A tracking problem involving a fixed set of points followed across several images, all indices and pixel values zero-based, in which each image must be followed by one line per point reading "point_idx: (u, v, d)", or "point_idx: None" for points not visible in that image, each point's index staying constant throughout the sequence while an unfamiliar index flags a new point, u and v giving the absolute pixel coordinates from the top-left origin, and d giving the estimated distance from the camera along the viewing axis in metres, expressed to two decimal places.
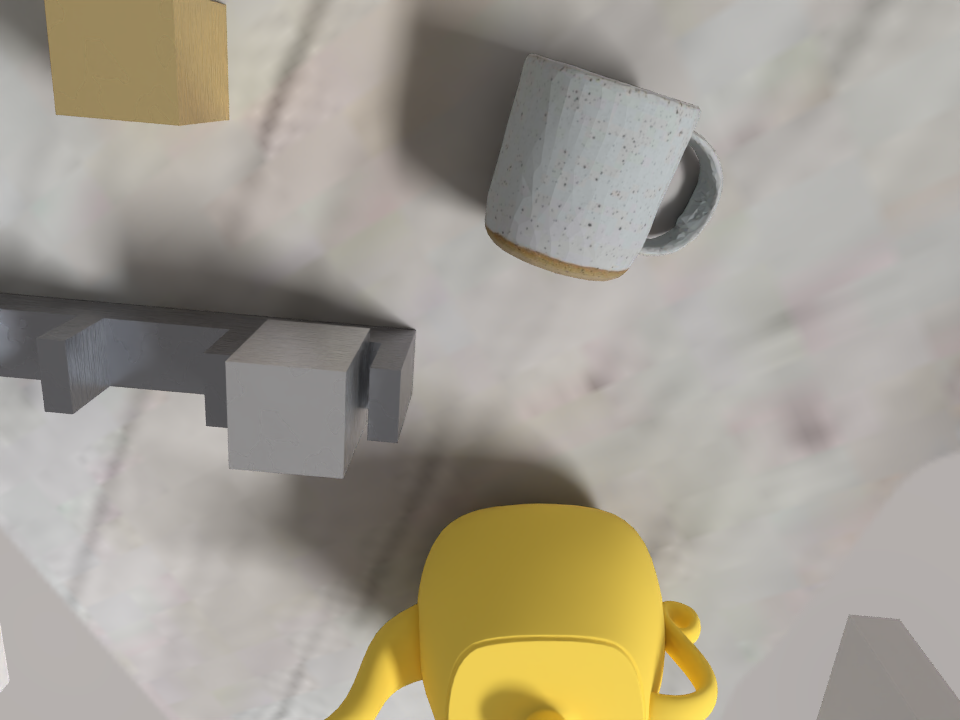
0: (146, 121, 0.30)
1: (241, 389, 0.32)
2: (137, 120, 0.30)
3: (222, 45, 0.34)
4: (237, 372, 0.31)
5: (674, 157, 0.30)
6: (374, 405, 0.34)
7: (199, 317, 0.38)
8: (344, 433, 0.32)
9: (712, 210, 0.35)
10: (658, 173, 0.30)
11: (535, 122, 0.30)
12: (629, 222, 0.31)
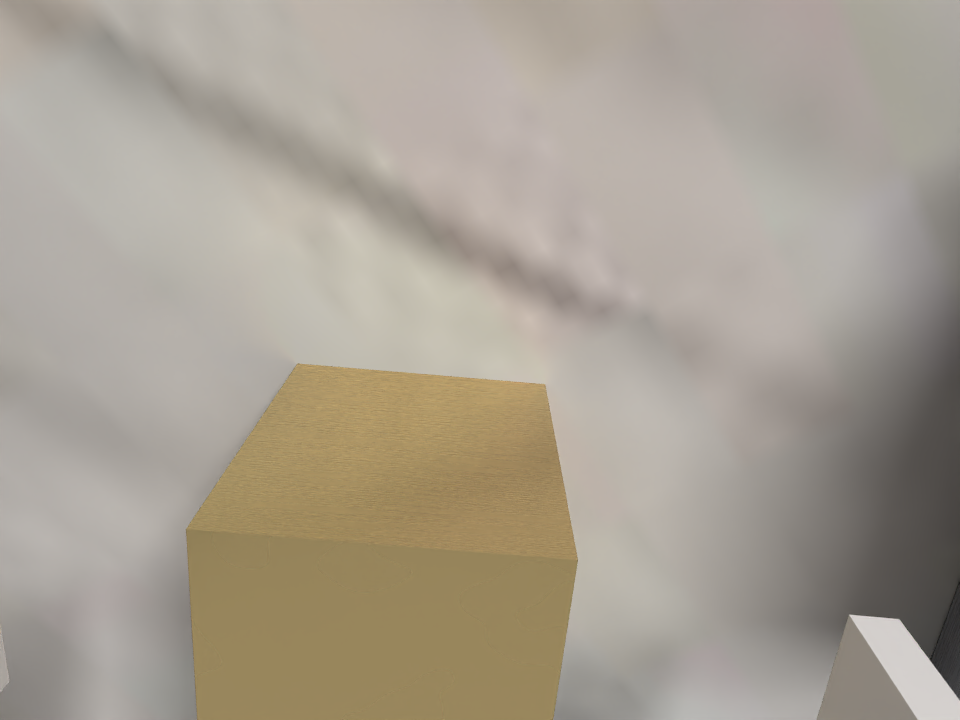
0: (561, 642, 0.10)
1: None
2: (557, 663, 0.10)
3: (379, 382, 0.15)
4: None
5: None
6: None
7: None
8: None
9: None
10: None
11: None
12: None
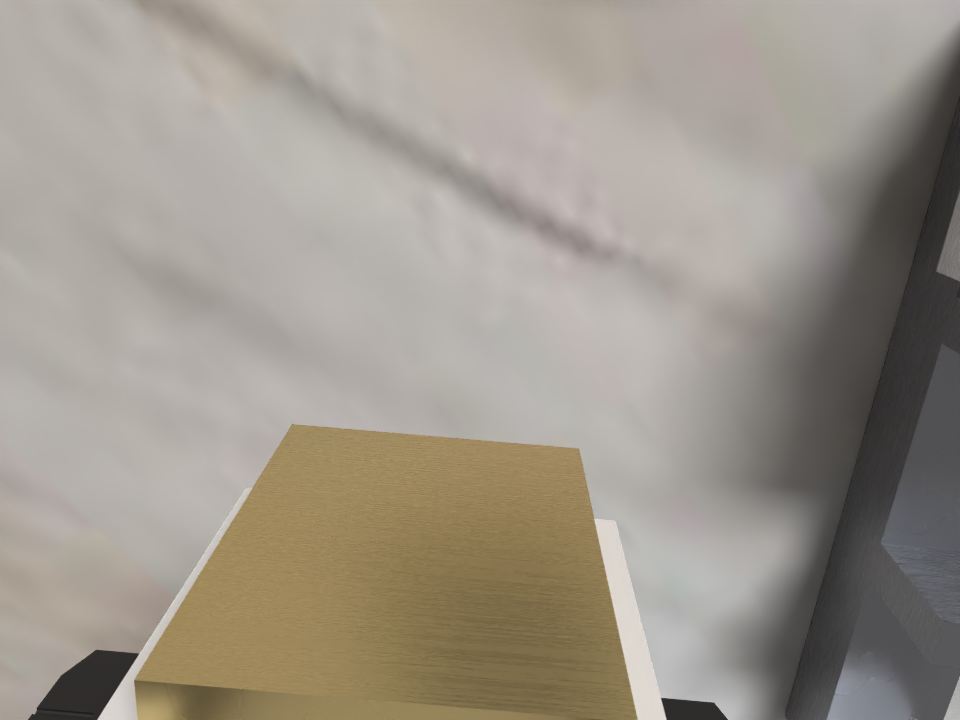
0: None
1: None
2: None
3: (386, 450, 0.12)
4: None
5: None
6: None
7: (896, 394, 0.22)
8: None
9: None
10: None
11: None
12: None
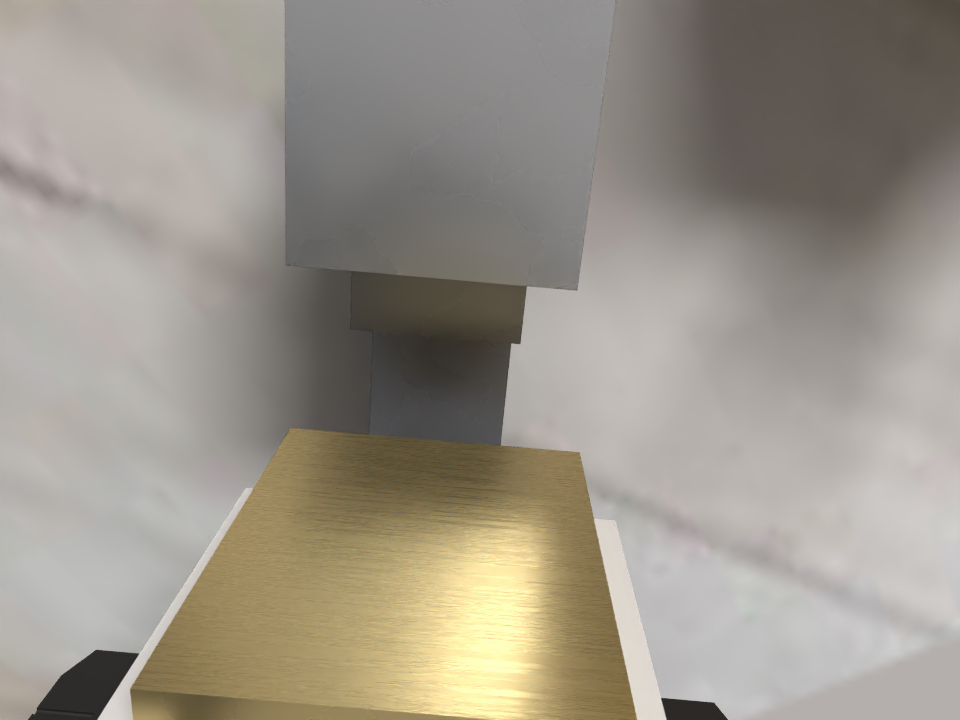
0: None
1: (356, 233, 0.13)
2: None
3: (385, 454, 0.12)
4: (312, 238, 0.13)
5: None
6: None
7: None
8: None
9: None
10: None
11: None
12: None
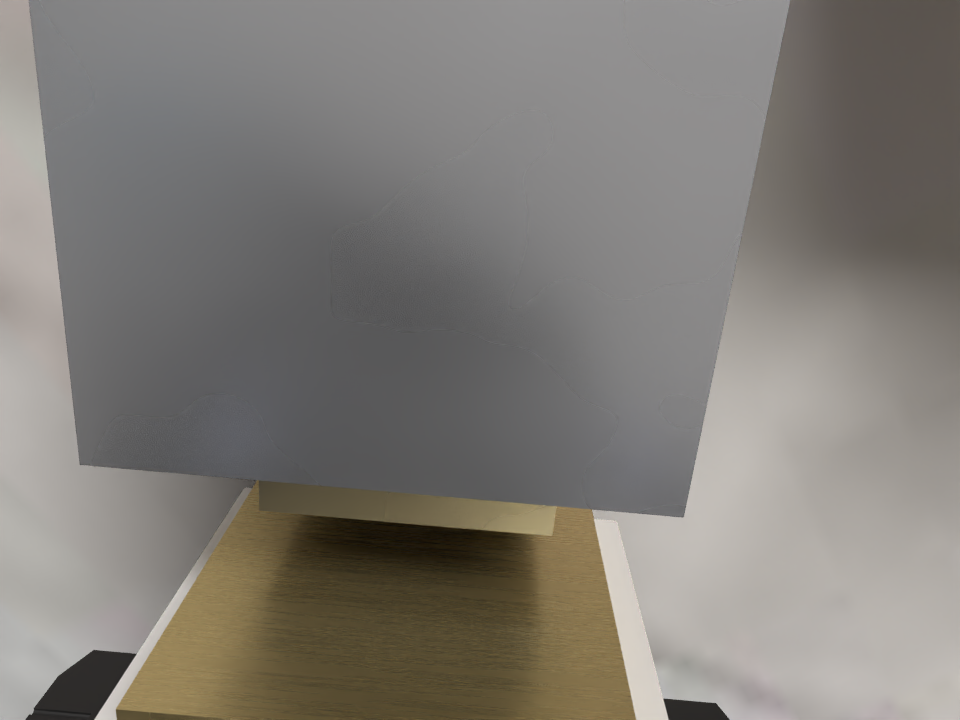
0: None
1: (221, 405, 0.06)
2: None
3: None
4: (128, 413, 0.06)
5: None
6: None
7: None
8: None
9: None
10: None
11: None
12: None
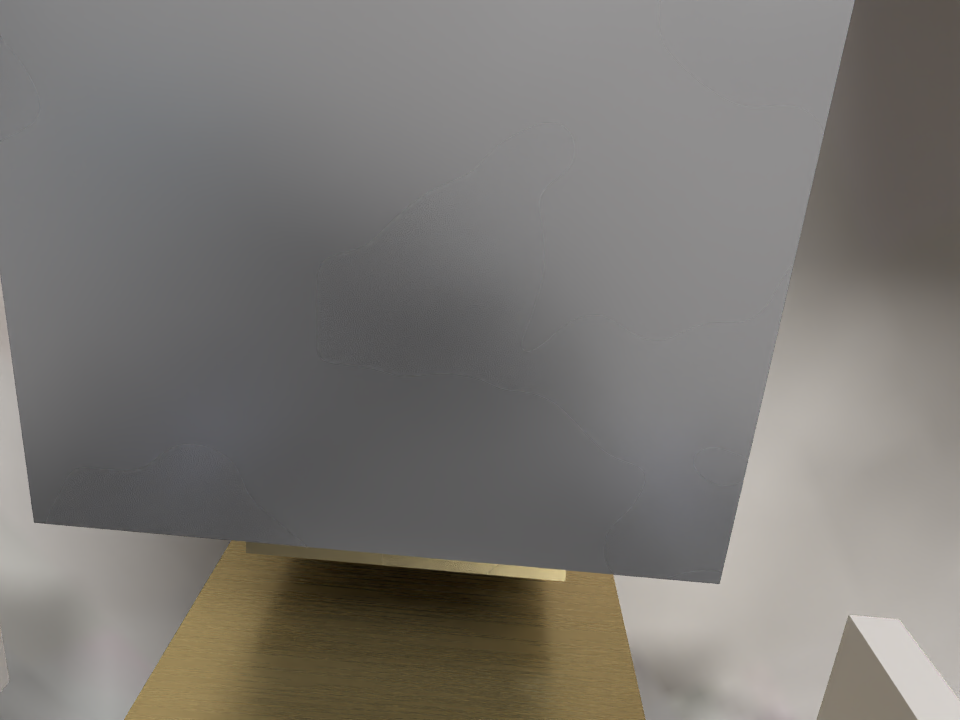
0: None
1: (194, 457, 0.05)
2: None
3: None
4: (89, 466, 0.05)
5: None
6: None
7: None
8: None
9: None
10: None
11: None
12: None
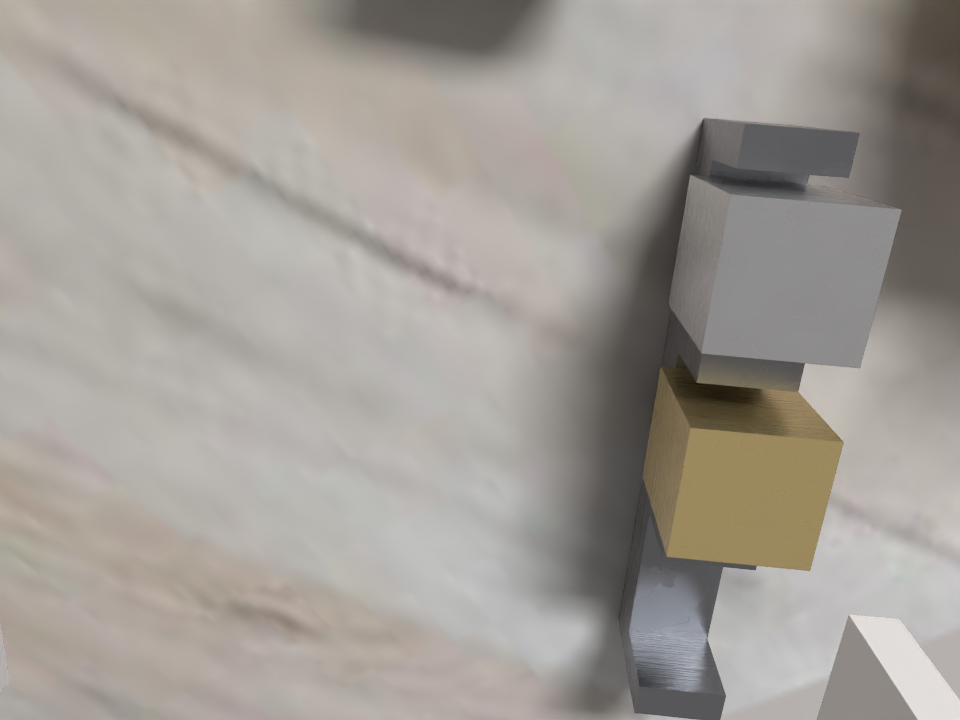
0: (832, 477, 0.25)
1: (743, 337, 0.24)
2: (830, 487, 0.25)
3: None
4: (718, 339, 0.24)
5: None
6: (795, 164, 0.24)
7: None
8: (827, 203, 0.22)
9: None
10: None
11: None
12: None
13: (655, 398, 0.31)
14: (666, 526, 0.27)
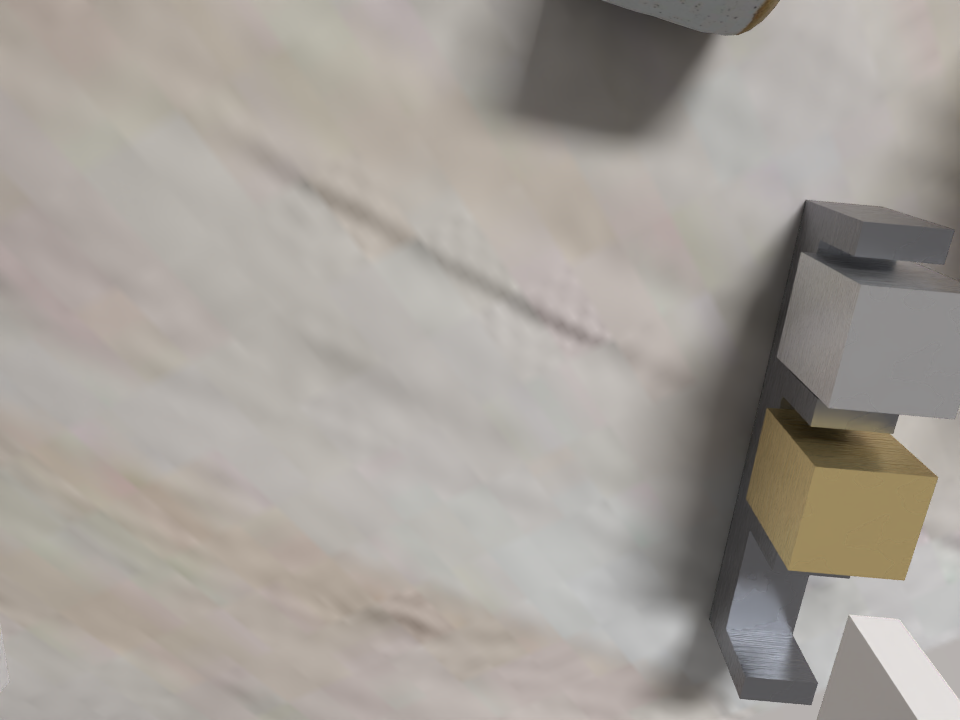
0: (927, 505, 0.31)
1: (862, 395, 0.29)
2: (924, 513, 0.31)
3: None
4: (842, 397, 0.29)
5: None
6: (901, 253, 0.30)
7: (763, 421, 0.38)
8: (936, 291, 0.28)
9: None
10: None
11: None
12: None
13: None
14: (785, 545, 0.33)
